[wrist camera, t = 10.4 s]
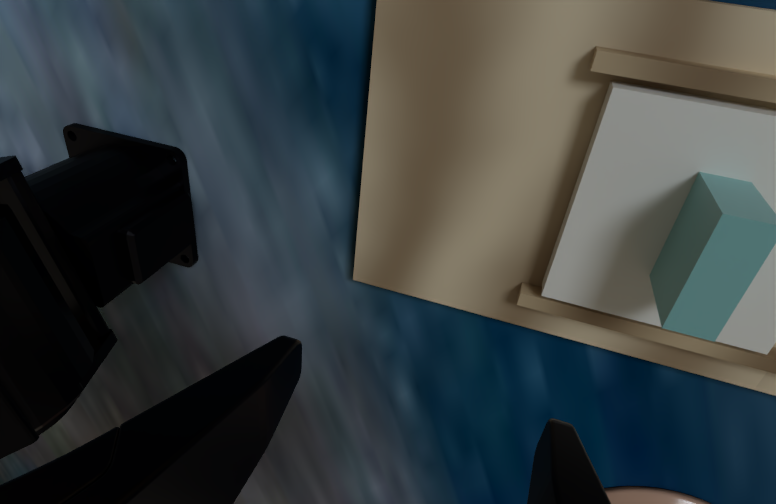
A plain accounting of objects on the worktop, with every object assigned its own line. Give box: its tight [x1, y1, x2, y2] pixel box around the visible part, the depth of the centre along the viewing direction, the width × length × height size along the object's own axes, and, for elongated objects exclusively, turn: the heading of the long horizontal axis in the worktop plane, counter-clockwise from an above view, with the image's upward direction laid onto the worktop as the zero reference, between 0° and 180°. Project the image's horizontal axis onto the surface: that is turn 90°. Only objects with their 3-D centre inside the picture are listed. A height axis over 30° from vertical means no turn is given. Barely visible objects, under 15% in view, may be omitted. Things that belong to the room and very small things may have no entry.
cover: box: [541, 80, 776, 355], centre depth 16 cm, size 8×8×4 cm
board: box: [353, 0, 776, 396], centre depth 17 cm, size 27×13×2 cm, turn 83°
